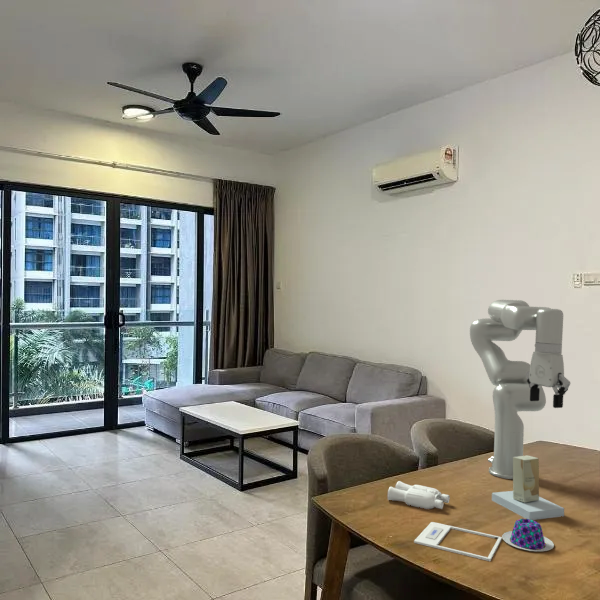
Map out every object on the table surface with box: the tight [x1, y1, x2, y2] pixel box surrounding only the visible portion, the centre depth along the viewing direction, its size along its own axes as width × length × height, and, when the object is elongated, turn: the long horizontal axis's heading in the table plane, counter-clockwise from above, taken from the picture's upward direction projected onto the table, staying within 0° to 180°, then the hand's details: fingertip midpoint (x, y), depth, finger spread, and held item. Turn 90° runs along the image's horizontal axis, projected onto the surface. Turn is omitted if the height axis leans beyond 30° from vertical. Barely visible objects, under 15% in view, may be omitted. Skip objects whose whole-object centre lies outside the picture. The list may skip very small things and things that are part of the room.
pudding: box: [501, 518, 555, 552], centre depth 141 cm, size 12×12×5 cm
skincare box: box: [512, 455, 540, 503], centre depth 165 cm, size 6×4×12 cm
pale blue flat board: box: [491, 490, 565, 521], centre depth 165 cm, size 16×12×3 cm
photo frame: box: [413, 521, 503, 562], centre depth 140 cm, size 15×1×18 cm
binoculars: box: [387, 480, 451, 510], centre depth 167 cm, size 10×16×5 cm, turn 58°
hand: (545, 404), depth 174 cm, fingers open, 9 cm apart
